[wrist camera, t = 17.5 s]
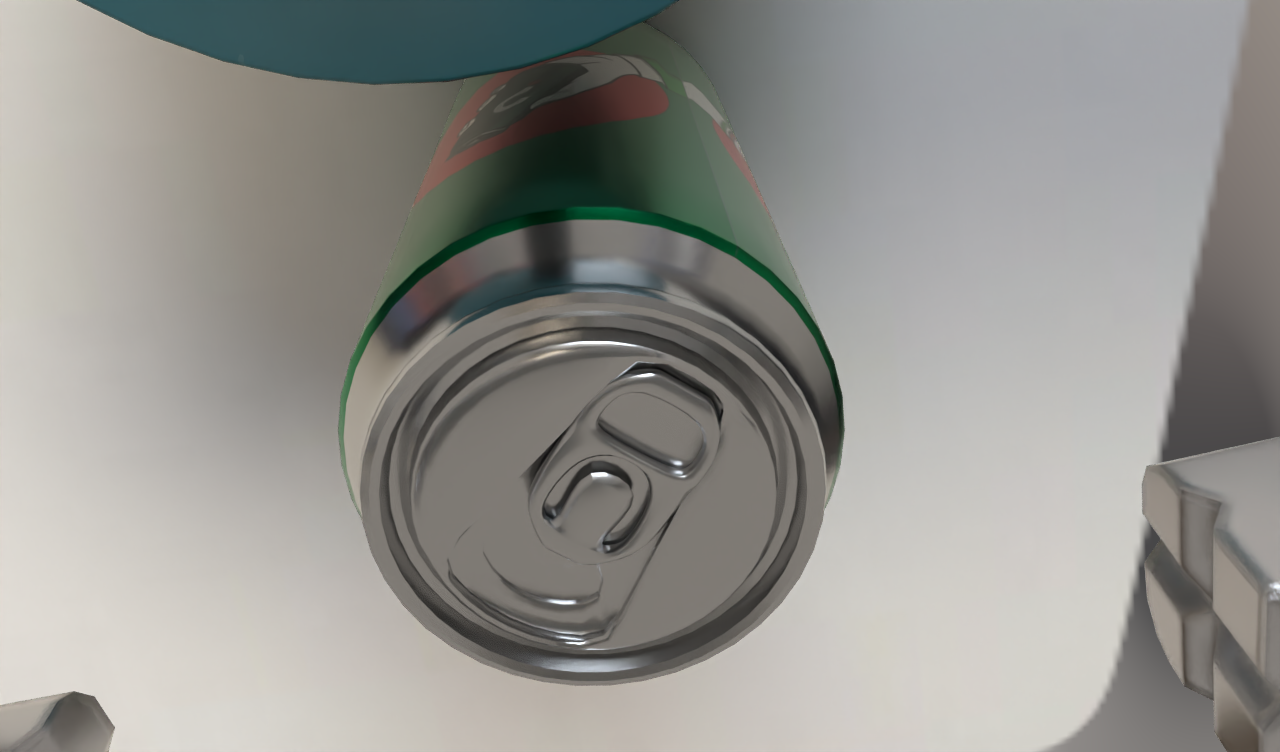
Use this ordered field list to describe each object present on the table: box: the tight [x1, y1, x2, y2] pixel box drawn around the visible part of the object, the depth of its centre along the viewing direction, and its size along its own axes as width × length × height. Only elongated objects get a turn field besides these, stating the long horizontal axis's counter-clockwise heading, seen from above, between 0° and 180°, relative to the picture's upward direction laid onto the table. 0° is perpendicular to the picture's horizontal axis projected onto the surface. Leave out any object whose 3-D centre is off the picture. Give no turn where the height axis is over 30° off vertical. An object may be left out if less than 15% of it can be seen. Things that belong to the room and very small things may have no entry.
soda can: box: [338, 22, 845, 686], centre depth 16 cm, size 5×5×12 cm
